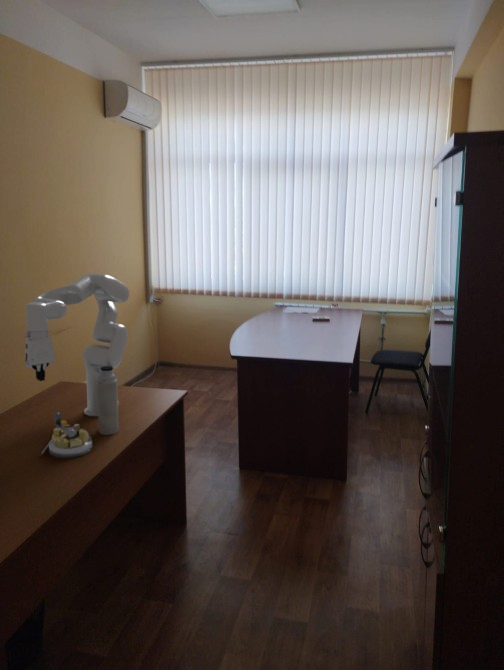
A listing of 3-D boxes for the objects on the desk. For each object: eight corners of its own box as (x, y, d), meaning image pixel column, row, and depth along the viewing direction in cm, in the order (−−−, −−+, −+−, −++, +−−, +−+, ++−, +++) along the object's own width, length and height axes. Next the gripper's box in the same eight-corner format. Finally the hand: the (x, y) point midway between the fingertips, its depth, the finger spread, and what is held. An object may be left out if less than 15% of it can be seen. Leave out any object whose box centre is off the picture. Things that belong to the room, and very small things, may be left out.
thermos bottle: (106, 426, 231) (104, 363, 225) (122, 428, 229) (120, 365, 222) (95, 432, 224) (92, 368, 217) (111, 436, 221) (109, 370, 215)
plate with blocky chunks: (81, 435, 221) (80, 416, 219) (98, 451, 207) (98, 431, 205) (41, 444, 211) (40, 425, 210) (57, 461, 198) (56, 441, 196)
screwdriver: (59, 419, 229) (35, 451, 200) (68, 419, 229) (44, 451, 200) (60, 426, 229) (36, 459, 200) (68, 426, 230) (45, 459, 200)
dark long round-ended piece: (92, 442, 207) (92, 427, 205) (59, 450, 199) (58, 434, 198) (72, 423, 224) (71, 409, 223) (41, 430, 217) (40, 415, 215)
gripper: (23, 339, 198) (26, 386, 203) (61, 333, 209) (63, 378, 213) (14, 335, 203) (17, 381, 207) (51, 330, 214) (53, 374, 218)
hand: (40, 379), depth 210 cm, fingers closed
